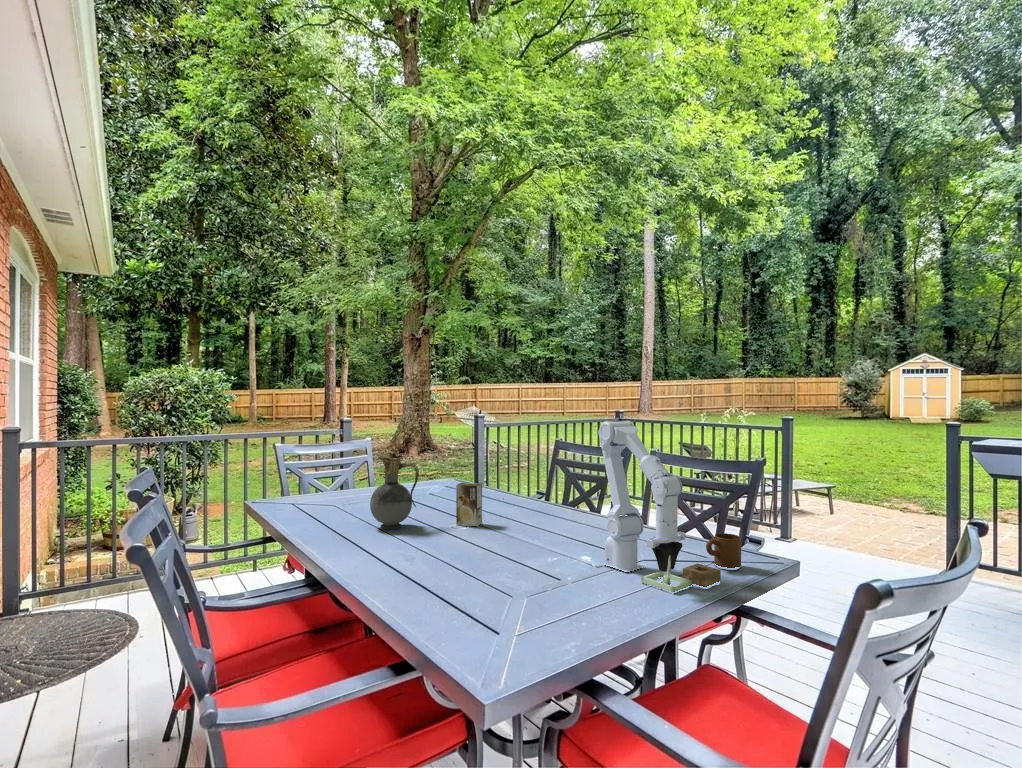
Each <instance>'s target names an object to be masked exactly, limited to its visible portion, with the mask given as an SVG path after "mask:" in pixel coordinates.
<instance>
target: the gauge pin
mask: <svg viewBox="0 0 1022 768" xmlns="http://www.w3.org/2000/svg"><path fill="white" fill-rule="evenodd" d="M671 570H672V569H671V555H670V554H669V558H668V568H667V572H663V571H662V572H663V583H664V584H667V585H670V584H671V575H672V573H671V572H672V571H671Z"/></svg>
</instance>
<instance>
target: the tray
mask: <svg viewBox="0 0 1022 768" xmlns="http://www.w3.org/2000/svg"><path fill="white" fill-rule="evenodd" d="M658 577H663V571H660V570H658V571H656V572H653V573H650V574H646V575H643V576H641V578H640V579H641V582H642V583H646V584H648V585H652V586H655V587H658V588H661V589H665V590H668V591H671V592H675V591H678V590H680V589H683V588H686V587H688V586H691V585H692V581H691V580H688V579H684V578H683V577H680V576H677V575H674V574H671V580H674V581H677V582H680V584H677V585H675V586H670V585H667V584H664V583H661V582H659V581H658V580H657V579H659V578H658ZM660 579H661V578H660ZM660 579H659V580H660Z"/></svg>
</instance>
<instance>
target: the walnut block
mask: <svg viewBox="0 0 1022 768" xmlns="http://www.w3.org/2000/svg"><path fill="white" fill-rule="evenodd" d="M721 570H722V569H719V568H714V567H710V566H708V565H704V564H700V563H695V564H691V565H688V566H686V567H682V578H684V579H688V580H691V581H692V584H696V585H699V586H703V587H707V586H709V585H712V584H714V583H716V582H719V581H722V580H721V575H722V574H721V572H722V571H721Z"/></svg>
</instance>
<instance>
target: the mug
mask: <svg viewBox="0 0 1022 768" xmlns="http://www.w3.org/2000/svg"><path fill="white" fill-rule="evenodd" d="M713 546H714V548H712V547H713ZM705 549H706V552H707V554H709V555H710V557H711V556H713V557H714V563H713V564H714V565H715V564H716V565H718V566H721V567H727V568H735V567H740V566H741V567H742V537H741V536H739V535H737V534H734V533H733V534H732V533H726V532H725V533H724V532H723V533H721V532H720V533H716V534H715V535H714V538H710V539H708V541H707V542H706V545H705Z"/></svg>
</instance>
